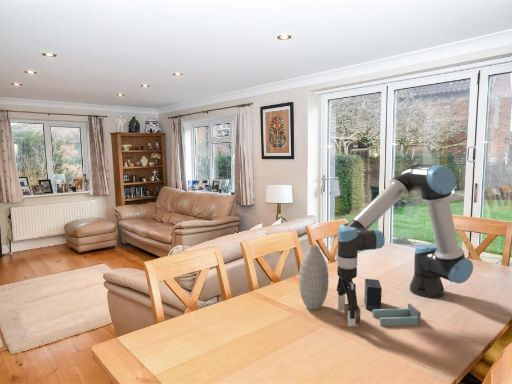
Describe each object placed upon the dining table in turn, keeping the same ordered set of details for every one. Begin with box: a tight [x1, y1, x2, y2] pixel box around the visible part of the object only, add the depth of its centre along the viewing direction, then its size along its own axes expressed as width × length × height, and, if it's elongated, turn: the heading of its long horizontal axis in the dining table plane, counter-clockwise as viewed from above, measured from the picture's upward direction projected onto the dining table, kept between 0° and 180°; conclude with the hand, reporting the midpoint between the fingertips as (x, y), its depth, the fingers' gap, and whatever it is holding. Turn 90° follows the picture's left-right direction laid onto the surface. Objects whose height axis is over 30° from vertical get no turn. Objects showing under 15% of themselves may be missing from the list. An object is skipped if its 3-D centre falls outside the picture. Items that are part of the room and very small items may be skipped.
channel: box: [372, 303, 422, 327], centre depth 144 cm, size 16×8×5 cm, turn 93°
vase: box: [298, 243, 329, 311], centre depth 155 cm, size 13×13×28 cm
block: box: [343, 303, 362, 324], centre depth 143 cm, size 5×5×6 cm
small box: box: [363, 278, 383, 311], centre depth 158 cm, size 11×6×10 cm, turn 168°
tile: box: [334, 316, 359, 328], centre depth 143 cm, size 7×7×1 cm
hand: (346, 317), depth 143 cm, fingers open, 13 cm apart
